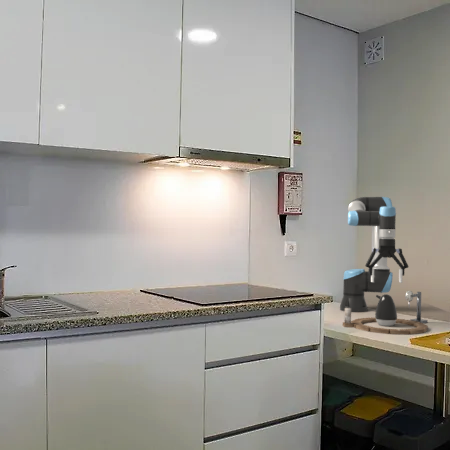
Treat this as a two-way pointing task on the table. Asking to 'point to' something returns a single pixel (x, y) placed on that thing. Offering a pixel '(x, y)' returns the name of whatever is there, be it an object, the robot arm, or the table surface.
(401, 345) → the table surface
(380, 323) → the pump dispenser
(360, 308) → the robot arm
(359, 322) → the turntable ring
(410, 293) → the dial indicator stand
